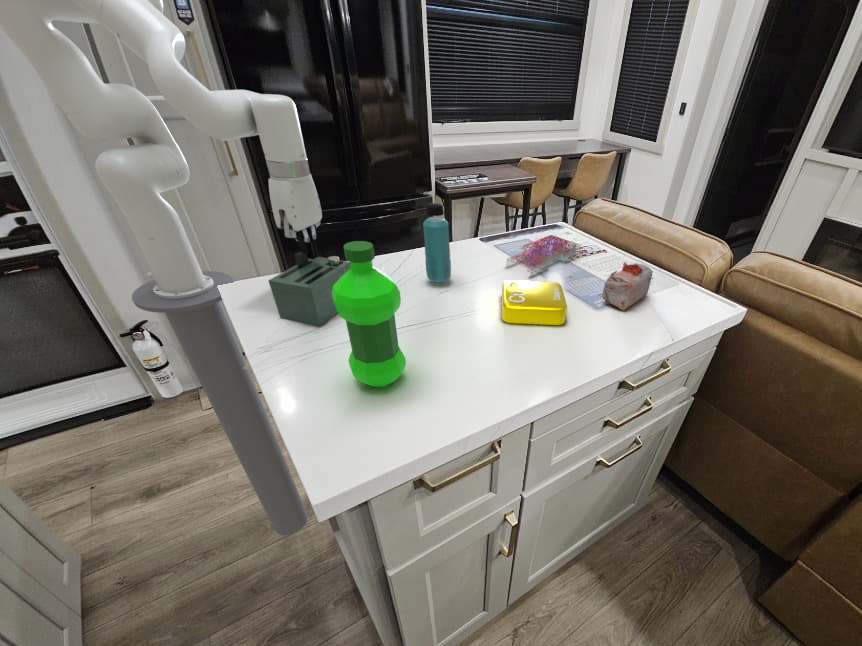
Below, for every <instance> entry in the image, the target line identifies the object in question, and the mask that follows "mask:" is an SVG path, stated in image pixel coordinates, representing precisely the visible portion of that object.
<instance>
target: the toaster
mask: <svg viewBox="0 0 862 646" xmlns="http://www.w3.org/2000/svg"><path fill="white" fill-rule="evenodd" d="M339 260H340V259H339ZM308 261H309V263H308V264H307V265H305V266H299V265H297V264H295V265H293V266H292V267H290V268H288V269H286V270H284V271H283V272H281V273H279V274H277V275H276V276H274V277H272V278H270V279H268V285H269V287H270V290H271V294H272V296H273V299H274V303H275V307H276V309H277V312H278V315H279V319H281V320H286V321H290V322H291V321H292V322H295V323H301V324H305V325H312V326H316V327H322V326H323V325H324V324H326V323H327V322H328V321H329V320H331V319H332V318H334V317H335V316H336V315H338V314H339V313H338V311H337V309H336V307H335V304H334V302H333V298H332V294H331V293H332V288H333V285H334V284H335V283H336V282H337V281H338V280H339V279H340V278H341V277H342V276H343V275H344V274H345V273H346V272H347V271H348V270H349V269H350V268H351V265H350V262H349V261H347V260H346V261H345V260H340V265H339V266H337V267H335V266H329V262H328V257H322V256H318V257H317V258H315V259H308Z"/></svg>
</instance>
